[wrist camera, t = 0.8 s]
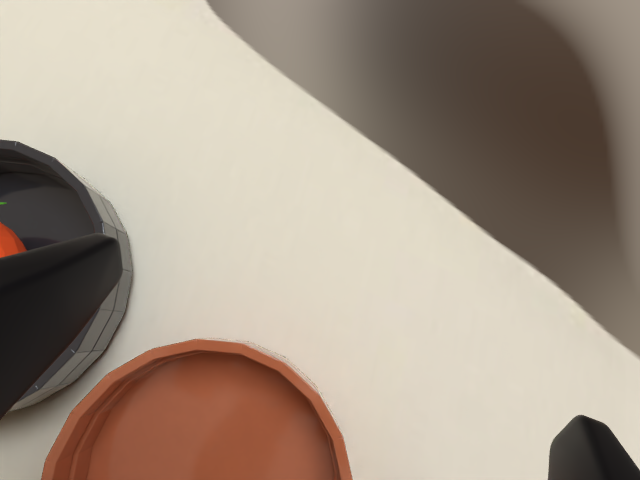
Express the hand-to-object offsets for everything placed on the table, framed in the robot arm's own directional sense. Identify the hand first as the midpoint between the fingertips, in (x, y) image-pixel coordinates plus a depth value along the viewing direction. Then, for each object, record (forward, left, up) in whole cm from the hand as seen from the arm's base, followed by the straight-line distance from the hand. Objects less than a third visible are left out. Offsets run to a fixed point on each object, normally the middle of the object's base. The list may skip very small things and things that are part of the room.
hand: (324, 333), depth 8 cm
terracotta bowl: (-8, -4, -16) cm, 18 cm away
